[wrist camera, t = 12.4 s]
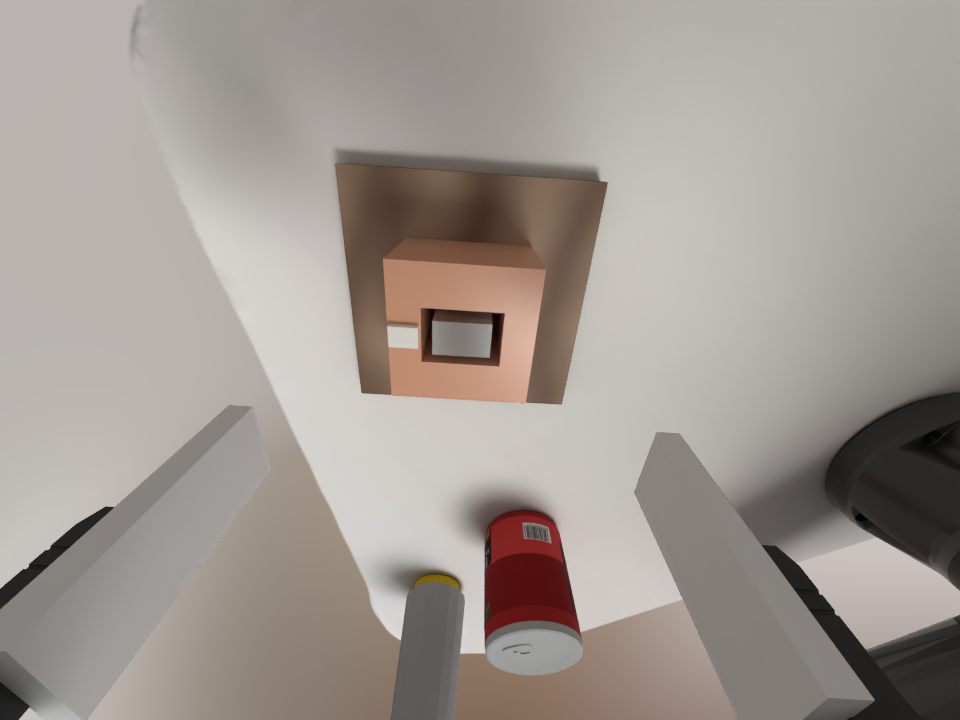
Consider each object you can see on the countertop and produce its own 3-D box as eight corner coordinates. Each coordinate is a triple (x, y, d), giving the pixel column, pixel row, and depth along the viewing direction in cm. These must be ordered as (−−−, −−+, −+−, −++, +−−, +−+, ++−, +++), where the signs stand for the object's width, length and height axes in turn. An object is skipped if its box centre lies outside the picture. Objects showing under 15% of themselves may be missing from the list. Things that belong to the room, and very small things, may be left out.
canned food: (472, 521, 38) (468, 643, 28) (543, 498, 36) (565, 620, 26) (502, 561, 41) (507, 683, 31) (568, 542, 39) (596, 665, 29)
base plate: (600, 181, 22) (649, 186, 16) (558, 394, 30) (579, 457, 23) (344, 163, 22) (283, 161, 15) (367, 383, 30) (333, 444, 23)
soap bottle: (477, 591, 44) (473, 830, 28) (433, 608, 46) (406, 841, 30) (442, 563, 41) (416, 809, 25) (397, 583, 43) (347, 822, 27)
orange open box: (531, 246, 23) (547, 271, 17) (517, 356, 27) (526, 407, 21) (406, 237, 23) (380, 260, 17) (410, 349, 26) (390, 399, 21)
